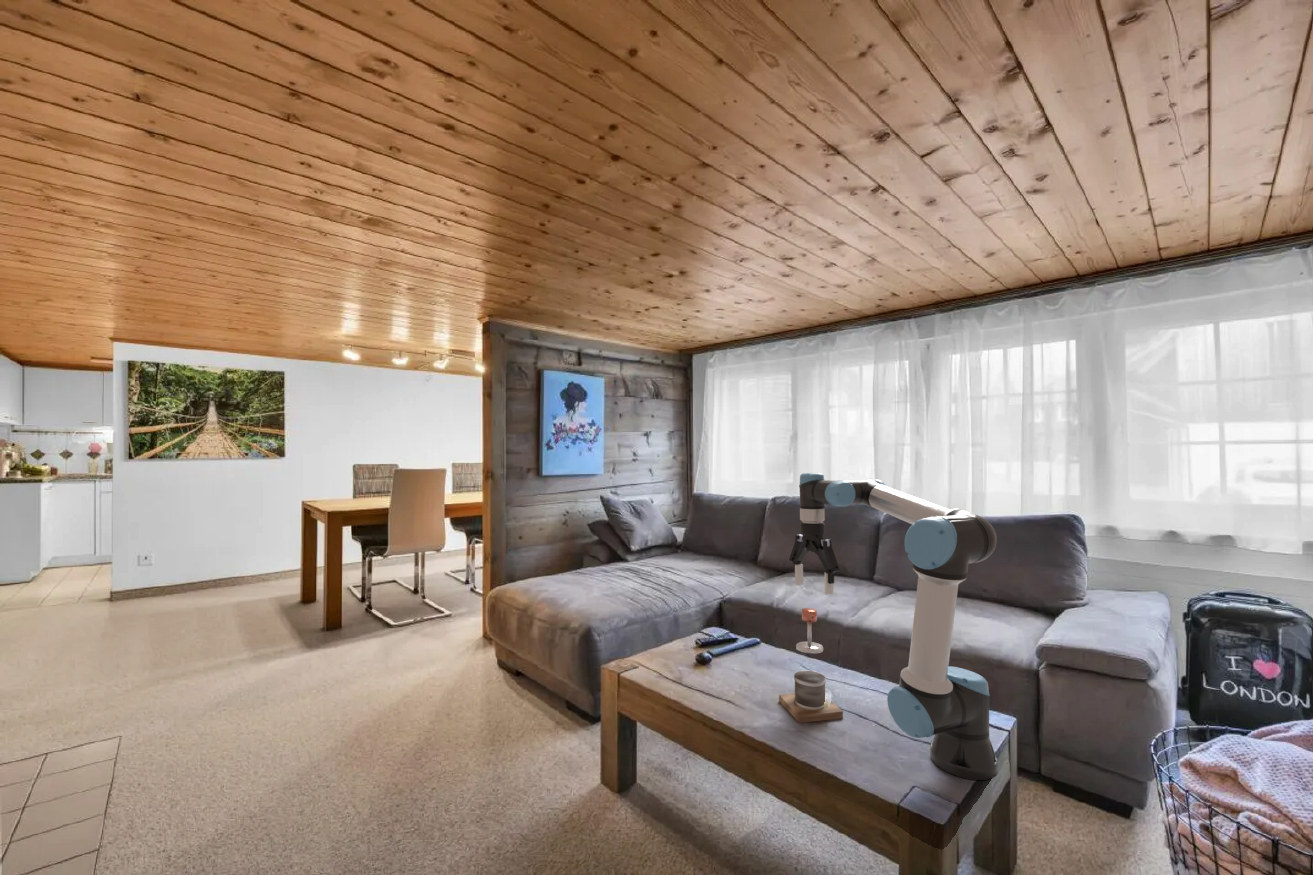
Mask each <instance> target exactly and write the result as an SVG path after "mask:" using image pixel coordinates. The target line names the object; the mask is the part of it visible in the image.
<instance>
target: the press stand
mask: <svg viewBox="0 0 1313 875" xmlns="http://www.w3.org/2000/svg"><path fill="white" fill-rule="evenodd" d="M793 678H794V693H783V694H779V695H778V702H779V703H780V704H781V705H782V706H783V707H784V708H785V709H786V711H788V713H789V714H790V715H791V716H792V717H793V718H794V719H795V720H796V722H798V723H799V724H801V723H811V722H819V721H829V720H837V719H844V711H843V710H842V709H841V708H839V706H837V704H835V703H834V702H833V701H832V700H831V703H830V706H829V707H828V708H824V706H825V705H824V702H825V696H826V683H827V681H826V680H827V679H826V676H825V675H824V674H823V673H821V672H818V671H814V670H810V669H809V670H806V669H805V670H798V671H795V673H794V674H793Z"/></svg>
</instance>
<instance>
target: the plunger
mask: <svg viewBox="0 0 1313 875" xmlns="http://www.w3.org/2000/svg"><path fill="white" fill-rule="evenodd" d="M817 615H818V611H817V609H814V608H811V607H804V608H802V609H801V620H802V621H803V622H806V623H807V630H806V631H807V634H806V635H807V637H806V638H807V641H799V642H797V643H796V644H795V647H796V648H795V649H796V651H798V652H801V653H805V654H809V655H811V654H812V655H813V654H814V655H816V654H820V653H823V651H824V647H823V645H822V644H820V643H817V642H814V641H812V639H813V637H812V623H816V622H817V620H818V616H817Z"/></svg>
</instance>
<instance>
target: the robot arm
mask: <svg viewBox="0 0 1313 875" xmlns="http://www.w3.org/2000/svg"><path fill="white" fill-rule="evenodd" d="M798 486H799V487H798V488H799V506H800V507H799V521H801V522H800V523H799V524H800V526H799V528H800V533H799V534H795V537H794V543H793V547H792V550H791V552H790V555H789V562H792V564H793V572H794V584H795V586H801V585H804V564H803V561H804V559H805V558H806V555H807V554H808V552H812V553H814V554H816V555H817V557H818V558H819V560H820V562H821V565H822V566H823V568H824V570H825V572H824V595H827V596H828V595H833V594H834V584H835V573H837V572H840V571H841V570H840V567H839V564H838V561H837V558H836V555H835V552H834V550H833V546H832V540H831V539H830V538H829V539H828V538H827V539H824V535H825V533H826V523H825V520H826V518H825V514H826V513H825V505H828V506H833V507H836V508H839V507H841V508H842V507H846V508H847V507H848V506H850V505H852V506H853V505H854V506H855V505H865V506H868V507H870V508H872V509H876V510H877V511H880V512H882V513H885V514H887V515H889V516H892V517H894V518H897V519H898V520H901V521H903V522H906V523H908V524H910V526H909V528H908V529H907V531H906V534H905V536H904V550H905V553H907V558H908V560H909V561H910V562H911V563H912V570H913V571H914V572H915V573H916V574H917V577H918V578H917V587H916V595H915V604H914V612H913V622H912V630H911V631H912V632H911V633H912V634H911V638H910V649H909V656H908V666H906V667H904V668H902V669H901V671H900V676H899V684H898V686H894V687H893V688H891V689H890V690H889V691H888V694H887V697H886V698H887V700H886V701H887V707H888V708H887V709H888V710H889V714H890V716H891V717H892V718H893V721H894V722H895V724H896V725H897V727H898V728H899V729H900V730H901V731H902V732H903V733H905V735H908V736H910V737H912V738H914V739H921V738H930V737H932V736H933V740H932V741H931V744H930V746H929V754H930V755H929V756H930V759H931V761H932V762H933V763H934V764H935V765H936V766H937V767H938V768H940V769H941V770H943V771H945V772H946V773H949V774H951V775H953V776H956V777H960V778H963V779H967V780H973V781H975V780H976V781H986V780H992V779H994V778H995V777H997V775H998V773H999V763H998V762H999V761H998V759H997V756H996V754H995V753H996V752H995V749H994V748H993V744H992V741H991V739H990V696H991V694H990V691H989V690H990V688H989V683H988V681H987V680H986V678H985V677H983V676H982V675H980V674H979V673H977V672H974V671H971V670H969V669H965V668H961V667H957V666H949V665H950V664H949V663H950V657H951V656H950V655H951V647H952V639H953V632H954V623H955V617H956V616H955V614H956V608H957V600H958V591H959V590H958V589H959V585H960V584H961V583H963V582H964V581H966V580H967V577H968V570H969V564H977V563H980V562H983V561H985V560H987V559H988V558H989V557H991V555H992V554H993V553H994V552H995V549H996V547H997V543H998V542H997V539H998V538H997V533H996V531H995V528H994V526H993V525H992V524H991V523H990V522H989V521H988V520H987V519H985V518H983V517H982V516H980V515H978V514H976V513H972V512H970V511H967V510H964V509H961V508H953V509H951V508H950V509H949V508H947V507H944V506H941V505H938V504H936V503H933V502H930V501H928V500H925V499H922V498H919V497H916V496H913V495H911V494H908V493H905V492H902V491H900V490H897V489H894V488H891V487H889V486H887V484H885V483H884V482H883V481H882V480H881V479H877V478H876V479H874V478H866V479H847V480H846V479H843V480H829V479H828V480H826V479H825V475H824V474H823V473H821V472H818V473H817V472H804V473H801V474H800V475H799V485H798Z"/></svg>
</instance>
